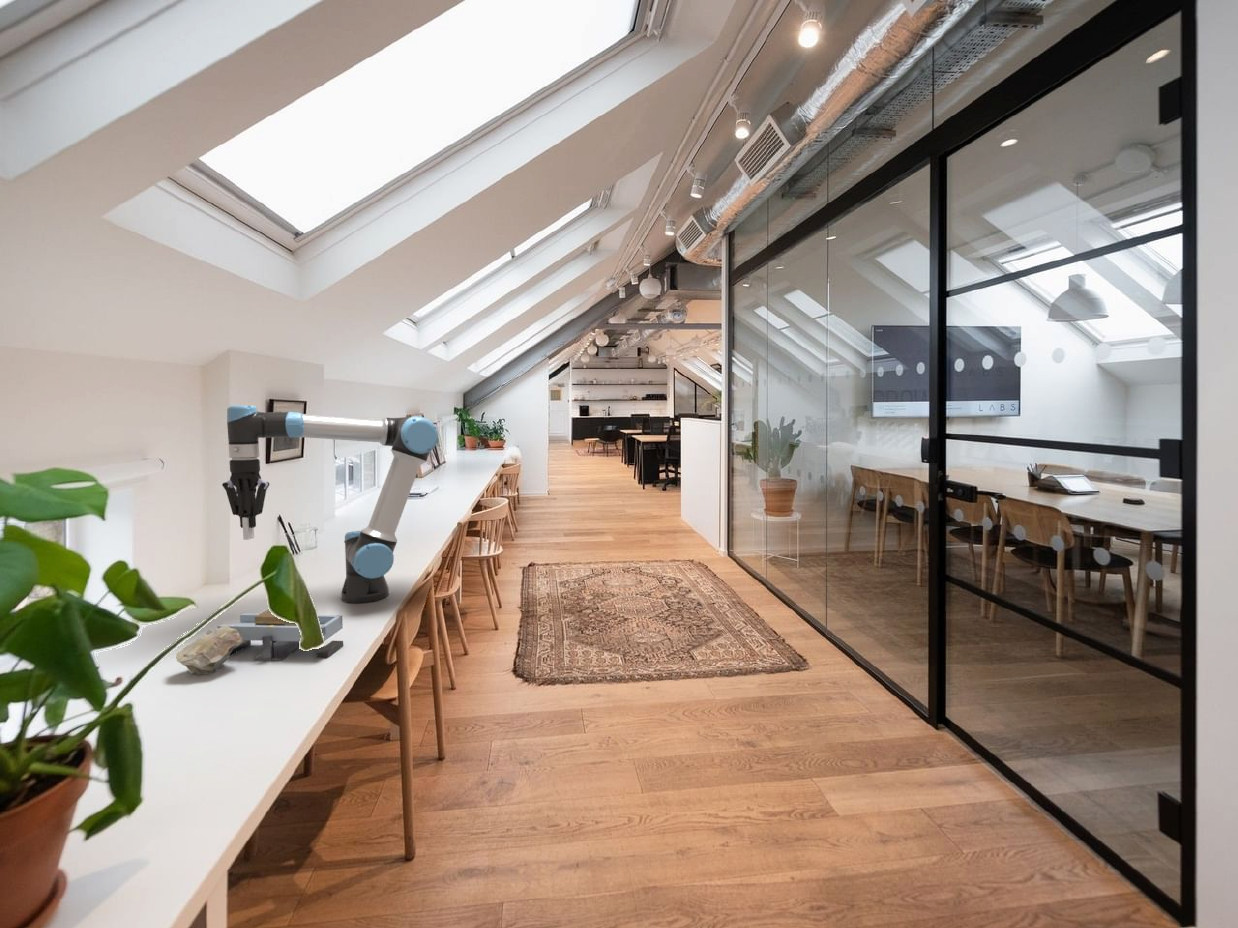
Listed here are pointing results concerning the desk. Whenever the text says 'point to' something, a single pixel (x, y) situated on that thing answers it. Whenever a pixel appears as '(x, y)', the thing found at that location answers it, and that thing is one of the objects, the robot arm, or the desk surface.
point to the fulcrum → (285, 649)
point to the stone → (209, 650)
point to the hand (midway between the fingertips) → (248, 538)
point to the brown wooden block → (270, 620)
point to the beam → (282, 628)
